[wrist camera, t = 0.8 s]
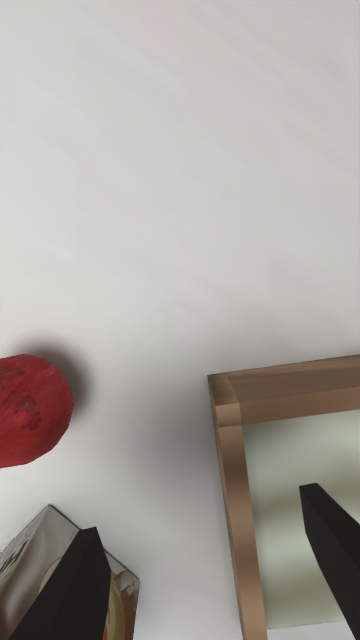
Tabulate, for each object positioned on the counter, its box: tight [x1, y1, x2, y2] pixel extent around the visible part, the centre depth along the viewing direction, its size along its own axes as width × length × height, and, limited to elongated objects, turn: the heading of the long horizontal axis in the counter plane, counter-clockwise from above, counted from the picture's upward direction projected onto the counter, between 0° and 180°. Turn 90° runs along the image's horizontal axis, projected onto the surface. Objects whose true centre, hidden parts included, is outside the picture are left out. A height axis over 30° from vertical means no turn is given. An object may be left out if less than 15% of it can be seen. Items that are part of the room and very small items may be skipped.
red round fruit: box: [0, 354, 74, 468], centre depth 18 cm, size 6×6×8 cm
